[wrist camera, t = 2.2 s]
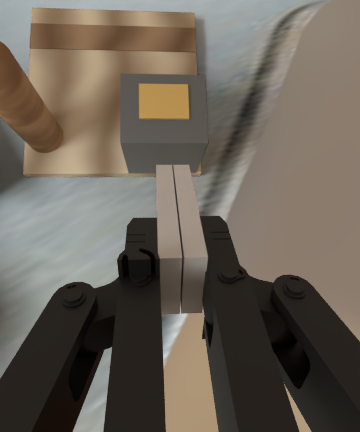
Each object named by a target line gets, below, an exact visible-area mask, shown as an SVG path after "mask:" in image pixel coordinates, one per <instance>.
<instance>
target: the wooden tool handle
mask: <svg viewBox="0 0 360 432" xmlns="http://www.w3.org/2000/svg"><path fill="white" fill-rule="evenodd" d="M0 117H1V118H2V119H3V120H4V121H5V122H6V123H7V124H8V125H9V126H10V127H11V128H12V129H13V130H14V131H15V132H16V133H17V134H18V135H19V136H20V137H21V138H22V139H23V140H24V141H25V142H26V143H27V144H28V145H29V146H30V147H31V148H32V149H34V150H35V151H37V152H40V153H49V152H52V151H54V150H56V149H57V148H58V147H59V146H60V145H61V143H62V140H63V131H62V129H61V127H60V126H59V124H58V123H57V121H56V120H55V118H54V117H53V115H52V114H51V112H50V111H49V109H48V108H47V106H46V105H45V103H44V102H43V100H42V99H41V97H40V95H39V94H38V92H37V91H36V89H35V88H34V86H33V85H32V83H31V82H30V80H29V79H28V77H27V76H26V74H25V73H24V71H23V70H22V68H21V67H20V65H19V64H18V62H17V61H16V59H15V58H14V56H13V55H12V53H11V52H10V50H9V49H8V47H7V46H6V45H4V44H3V43H1V42H0Z"/></svg>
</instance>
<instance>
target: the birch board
mask: <svg viewBox="0 0 360 432" xmlns="http://www.w3.org/2000/svg"><path fill="white" fill-rule="evenodd" d="M120 73H124V74H181V75H197V59H196V30H195V13H181V12H150V11H119V10H87V9H56V8H32V23H31V34H30V59H29V77H28V79H29V80H30V82H31V83H32V85H33V86H34V88H35V89H36V91H37V92H38V94H39V95H40V97H41V99H42V100H43V102H44V103H45V105H46V106H47V108H48V109H49V111H50V112H51V114H52V115H53V117H54V118H55V120H56V121H57V123H58V124H59V126H60V127H61V129H62V131H63V140H62V143H61V145H60V146H59V147H58V148H57V149H56V150H54V151H52V152H49V153H40V152H37V151H35V150H34V149H32V148H31V147H30V146H29V145H28V144H27V143H26V142H25V149H24V167H23V174H24V175H25V176H27V177H156V173H128V169H127V165H126V162H125V158H124V155H123V151H122V148H121V144H120ZM200 174H201V163H200V165H199V168H198V170H197V173H191V176H200Z"/></svg>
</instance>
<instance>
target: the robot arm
mask: <svg viewBox="0 0 360 432" xmlns="http://www.w3.org/2000/svg"><path fill="white" fill-rule="evenodd" d="M156 192H157V218H133V219H132V220H131V222H130V223H129V224H128V225H127V234H126V243H125V250H124V251H123V252H122V253H121V254H120V255H119V257H118V259H117V263H118V272H119V277H118V278H117V279H116V280H115V281H113V282H112V283H110V284H107V285H105V286H101V287H98V288H93V287H92V286H91V285H90V284H87V283H84V282H73V283H69V284H66V285H64V286H63V287H61V288H59V289H58V290H57V291H56V292H55V293H54V294H53V296H52V298H51V299H50V301H49V302H48V304H47V306H46V307H45V309H44V310H43V312H42V313H41V315H40V317H39V318H38V320H37V321H36V323H35V325H34V326H33V328H32V329H31V331H30V333H29V334H28V336H27V337H26V339H25V341H24V342H23V344H22V345H21V347H20V348H19V350H18V352H17V353H16V355H15V356H14V358H13V360H12V361H11V363H10V364H9V366H8V368H7V369H6V371H5V372H4V374H3V376H2V377H1V379H0V432H73V429H74V426H75V424H76V421H77V419H78V416H79V414H80V411H81V409H82V406H83V403H84V401H85V398H86V396H87V393H88V391H89V388H90V386H91V383H92V380H93V378H94V375H95V373H96V370H97V368H98V365H99V362H100V360H101V357H102V355H103V352H104V350H105V349H108V348H110V347H112V355H111V364H110V374H109V384H108V394H107V403H106V413H105V423H104V432H166V429H165V402H164V401H165V399H164V372H163V345H162V317H161V314H179V313H180V302H181V313H202V309H204V315H205V317H204V326H203V335H202V339H206V346H207V353H208V360H209V367H210V374H211V381H212V388H213V394H214V402H215V409H216V416H217V423H218V430H219V432H299V429H298V426H297V423H296V420H295V417H294V414H293V411H292V408H291V405H290V402H289V398H288V395H287V393H286V389H285V386H286V388H287V389H288V391H289V393H290V395H291V396H292V398H293V400H294V401H295V403H296V405H297V407H298V409H299V410H300V412H301V414H302V415H303V417H304V419H305V421H306V423H307V424H308V426H309V428H310V429H311V431H312V432H360V342H359V340H358V339H357V338H356V337H355V336H354V335H353V333H352V332H351V331H350V330H349V328H348V327H347V326H346V325H345V324H344V323H343V321H342V320H340V318H339V317H338V316H337V314H336V313H335V312H334V311H333V310H332V308H330V306H329V305H328V304H327V303H326V302H325V300H324V299H323V298H322V297H321V296H320V294H319V293H318V292H317V291H316V290H315V288H314V287H313V286H312V285H311V284H310V283H309V282H308V281H306V280H304V279H302V278H301V277H298V276H294V275H282V276H280V277H278V278H277V279H276V280H275V281H274V283H272V282H267V281H263V280H259V279H256V278H253V277H251V276H249V275H248V273H247V272H246V270H245V269H244V268H243V267H241V266H240V264H239V262H238V258H237V255H236V252H235V249H234V245H233V243H232V240H231V236H230V233H229V230H228V226H227V223H226V222H225V221H224V220H223V219H222V218H221V217H220V216H199V211H198V206H197V201H196V196H195V191H194V187H193V182H192V177H191V172H190V167H189V165H173V170H172V165H156ZM283 382H284V383H283ZM284 384H285V386H284Z"/></svg>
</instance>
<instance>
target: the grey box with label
mask: <svg viewBox="0 0 360 432" xmlns="http://www.w3.org/2000/svg"><path fill="white" fill-rule="evenodd" d="M120 144H121V148H122V151H123V155H124V158H125V162H126V165H127V169H128V173H156V165H172V170H173V165H189V167H190V172H191V173H197V170H198V168H199V165H200V163H201V160H202V158H203V155H204V153H205V150H206V148H207V145H208V123H207V101H206V79H205V75H181V74H124V73H120Z"/></svg>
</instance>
